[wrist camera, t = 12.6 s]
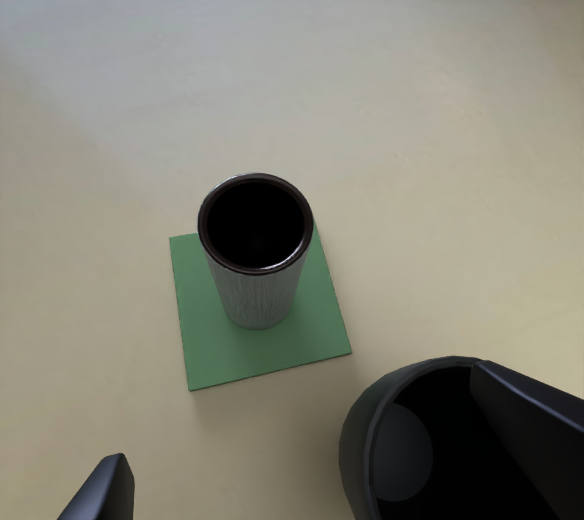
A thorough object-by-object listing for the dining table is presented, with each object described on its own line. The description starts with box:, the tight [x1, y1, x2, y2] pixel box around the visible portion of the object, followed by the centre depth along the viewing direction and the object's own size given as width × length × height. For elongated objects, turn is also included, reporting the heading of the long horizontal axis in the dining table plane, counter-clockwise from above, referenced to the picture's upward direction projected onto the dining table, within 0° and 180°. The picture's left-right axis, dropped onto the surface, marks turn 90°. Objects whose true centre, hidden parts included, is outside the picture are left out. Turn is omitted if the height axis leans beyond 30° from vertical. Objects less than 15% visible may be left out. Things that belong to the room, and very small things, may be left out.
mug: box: [339, 356, 560, 520], centre depth 17 cm, size 8×12×10 cm
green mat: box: [169, 217, 352, 391], centre depth 24 cm, size 10×10×1 cm
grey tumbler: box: [197, 173, 314, 330], centre depth 19 cm, size 4×4×10 cm
